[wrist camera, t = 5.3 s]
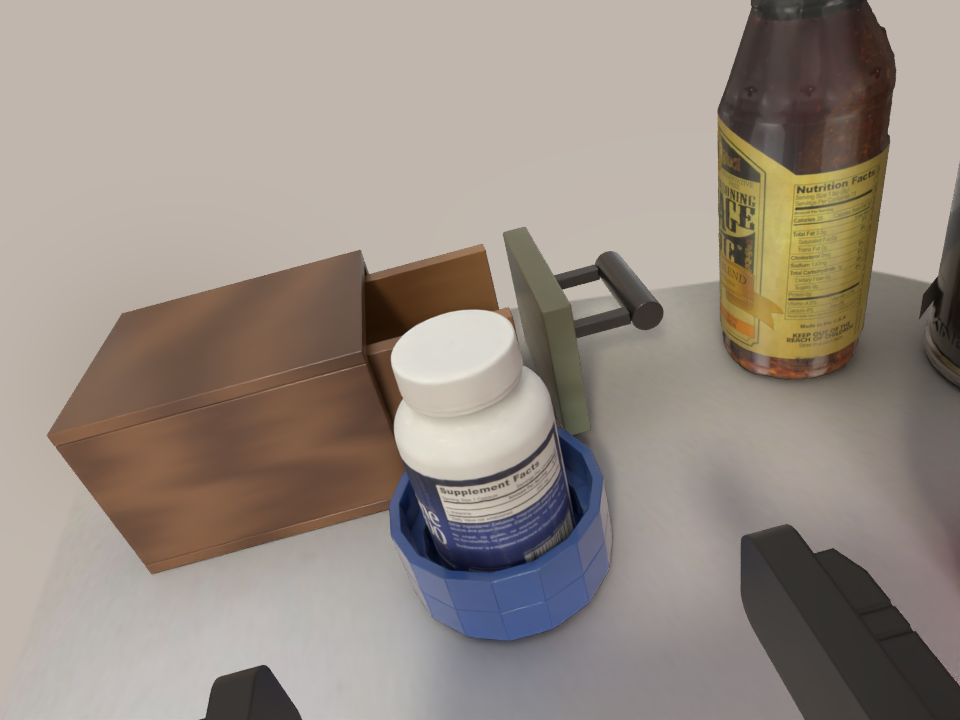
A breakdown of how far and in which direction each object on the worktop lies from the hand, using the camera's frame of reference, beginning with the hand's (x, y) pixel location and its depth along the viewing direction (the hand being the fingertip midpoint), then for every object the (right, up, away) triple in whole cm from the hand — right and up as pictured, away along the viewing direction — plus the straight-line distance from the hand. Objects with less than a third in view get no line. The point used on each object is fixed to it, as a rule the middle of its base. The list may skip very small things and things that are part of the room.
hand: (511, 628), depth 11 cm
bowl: (+1, -3, +15) cm, 15 cm away
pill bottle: (+1, -3, +15) cm, 15 cm away
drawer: (0, +3, +22) cm, 22 cm away
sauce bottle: (+15, +5, +22) cm, 27 cm away
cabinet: (-10, -1, +23) cm, 25 cm away
